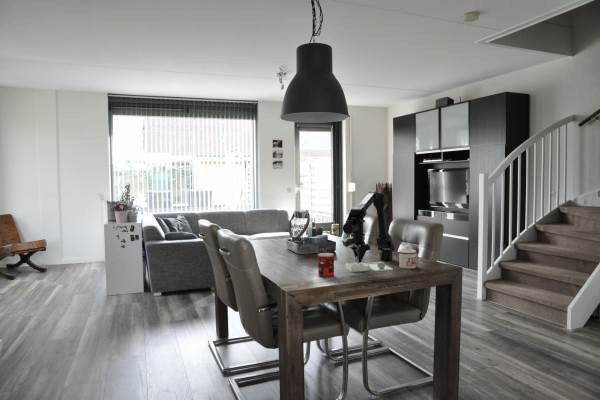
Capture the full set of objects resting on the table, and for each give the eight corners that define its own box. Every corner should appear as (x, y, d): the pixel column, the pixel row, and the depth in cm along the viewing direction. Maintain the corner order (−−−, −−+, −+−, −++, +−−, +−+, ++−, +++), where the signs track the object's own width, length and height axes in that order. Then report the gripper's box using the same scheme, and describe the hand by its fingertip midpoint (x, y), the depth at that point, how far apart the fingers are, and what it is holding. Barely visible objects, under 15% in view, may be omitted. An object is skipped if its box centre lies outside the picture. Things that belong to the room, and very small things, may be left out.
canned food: (317, 274, 221) (317, 253, 220) (332, 273, 221) (332, 252, 221) (319, 277, 213) (318, 255, 212) (335, 277, 214) (334, 255, 213)
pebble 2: (383, 268, 229) (383, 260, 229) (386, 269, 225) (386, 262, 225) (376, 268, 228) (376, 261, 228) (379, 270, 224) (379, 262, 224)
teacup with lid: (407, 270, 225) (407, 248, 224) (395, 267, 233) (395, 246, 232) (424, 267, 231) (423, 246, 230) (411, 264, 239) (411, 243, 238)
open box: (362, 267, 234) (362, 262, 234) (369, 271, 224) (369, 265, 224) (344, 269, 231) (344, 263, 231) (351, 273, 222) (351, 267, 221)
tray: (378, 264, 241) (378, 262, 241) (393, 271, 224) (393, 268, 224) (362, 265, 239) (362, 263, 239) (375, 272, 222) (375, 270, 222)
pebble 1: (360, 262, 228) (360, 255, 228) (363, 264, 224) (363, 256, 224) (353, 263, 227) (353, 255, 227) (356, 264, 223) (356, 256, 223)
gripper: (337, 230, 232) (337, 259, 233) (349, 235, 213) (350, 266, 214) (356, 229, 234) (357, 257, 235) (370, 233, 216) (371, 264, 217)
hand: (358, 261), depth 225 cm, fingers closed on pebble 1, 4 cm apart
